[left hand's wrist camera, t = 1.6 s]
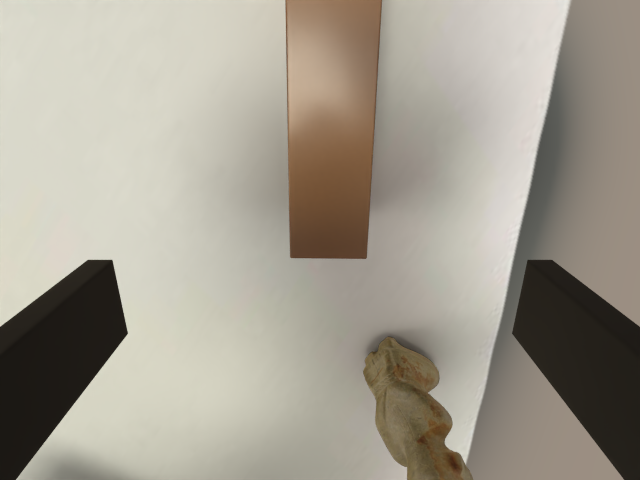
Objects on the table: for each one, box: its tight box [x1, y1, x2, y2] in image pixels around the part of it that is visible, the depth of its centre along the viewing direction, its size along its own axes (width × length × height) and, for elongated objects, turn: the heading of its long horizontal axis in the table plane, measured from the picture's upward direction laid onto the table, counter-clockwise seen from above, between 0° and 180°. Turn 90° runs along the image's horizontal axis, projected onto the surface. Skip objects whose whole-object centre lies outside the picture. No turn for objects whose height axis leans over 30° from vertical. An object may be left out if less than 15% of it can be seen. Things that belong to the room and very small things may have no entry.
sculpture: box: [363, 337, 473, 480], centre depth 32 cm, size 6×7×15 cm
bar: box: [286, 0, 382, 259], centre depth 25 cm, size 23×5×9 cm, turn 179°
